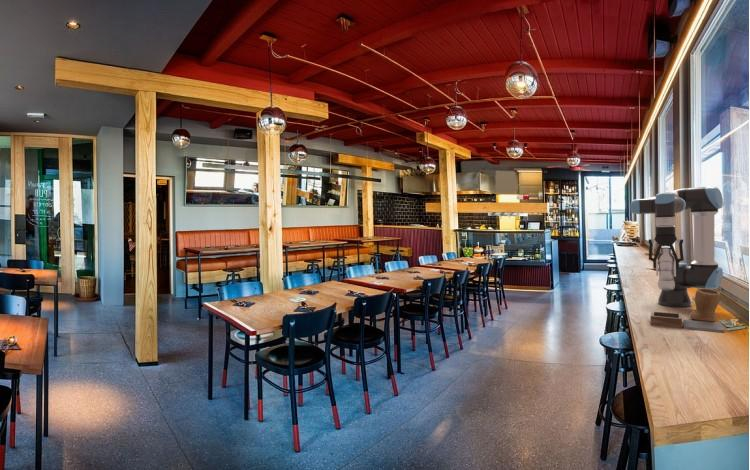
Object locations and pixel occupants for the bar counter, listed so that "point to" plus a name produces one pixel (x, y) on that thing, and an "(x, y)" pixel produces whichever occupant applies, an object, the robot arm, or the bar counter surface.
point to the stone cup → (705, 304)
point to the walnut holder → (666, 319)
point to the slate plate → (703, 325)
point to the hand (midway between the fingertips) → (666, 275)
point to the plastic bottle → (666, 270)
